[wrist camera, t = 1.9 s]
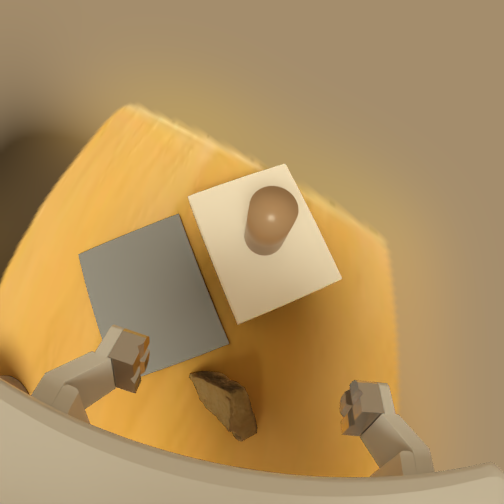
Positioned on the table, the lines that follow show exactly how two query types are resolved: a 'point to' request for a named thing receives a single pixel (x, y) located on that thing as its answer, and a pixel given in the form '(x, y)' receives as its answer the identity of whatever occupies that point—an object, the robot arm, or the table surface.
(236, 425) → the rock
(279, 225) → the lid
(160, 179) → the table surface
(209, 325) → the slate mat
